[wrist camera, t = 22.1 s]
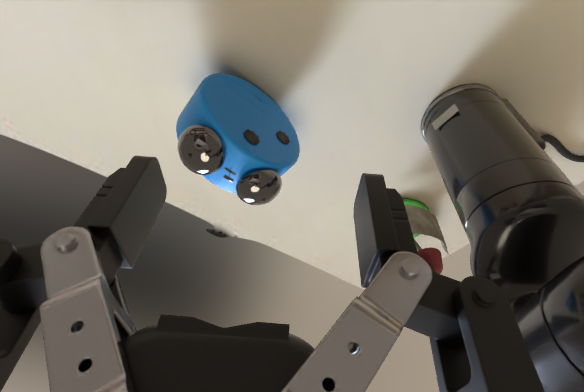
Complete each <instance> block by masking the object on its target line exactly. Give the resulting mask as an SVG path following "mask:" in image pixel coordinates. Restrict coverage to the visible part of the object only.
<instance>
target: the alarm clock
mask: <svg viewBox="0 0 584 392" xmlns="http://www.w3.org/2000/svg"><path fill="white" fill-rule="evenodd" d="M176 130H177V137H178V153H179V157H180V159H181V161H182V163H183V164H184V165H185V166H186V167H187V168H188V169H189V170H190V171H192V172H194V173H196V174H199V175H203V176H204V177H205V178H206V179H207V180H209V181H210V182H212V183H213V184H215V185H216V186H218V187H220V188H222V189H224V190H227V191H229V192H232V193H236V194H237V195H238V197H239V198H240V199H241V200H242V201H244V202H245V203H247V204H250V205H262V204H266V203H268V202H270V201H272V200H273V199H274V198H275V197H276V196H277V195H278V194H279V192H280V190H281V186H282V181H281V177H280V176H281V175H283V174H284V173H285V172H286V171H287V170H288V169H289V168H290V167H292V166H293V165H294V164H295V162H296V161H297V159H298V156H299V141H298V138H297V135H296V132H295V130H294V128H293V126H292V124H291V122H290V121H289V119H288V118H287V116H286V115H285V114H284V112H283V111H282V110H281V109H280V108H279V106H278V105H277V104H276V103H275V102H274V101H273V100H272V99H271V98H270V97H268V96H267V95H266V94H265V93H264V92H262V91H261V90H260V89H258V88H257V87H255V86H254V85H252V84H251V83H249V82H247V81H245V80H243V79H241V78H238V77H236V76H233V75H229V74H221V73H220V74H213V75H210V76H208V77H206V78H205V79H204V80H203V81H202V83H201V84H200V86H199V87H198V89H197V90H196V92H195V93H194V95H193V96H192V98H191V99H190V101H189V102H188V104H187V105H186V106H185V108H184V109H183V111H182V112H181V114H180V116H179V118H178V121H177V126H176Z"/></svg>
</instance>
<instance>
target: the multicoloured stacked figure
mask: <svg viewBox="0 0 584 392" xmlns="http://www.w3.org/2000/svg"><path fill="white" fill-rule="evenodd" d="M403 200H404V204H405V208H406V212H407V215H408V221H409V222H410V226H411V230H412V233H413V237H416V236H418V235H420V234H424V235H429V236H433V237H435V238H437V239H439V240H440V241H441V244H442V246H443V248H444V250H445V251H446V252H447V246H446V244H445V241H444V238H443V235H442V232H441V230H440V227H439V224H438V221H437V219H436V217H435V216H434V215H433V214H431V213H430V212H429V210H428V208H427V207H426V206H425V205H424V204H422V203H420V202H418V201H415V200H411V199H403ZM414 241H415V240H414ZM415 244H416V248H417V250H418V251H417V252H418V255H419V256H420V257H421V258H423V259H424V260H425V261H426V262H427V263H428V265H429V266H430V268H431V270H433V271H434V272H436V273H438V274H440V273H441V272H442V269H443V264H442V257H441V252H440V251H439V250H438V249H436V248H425V249H421V247H420V246H419V245H418V243H417V242H416V241H415ZM447 253H448V252H447Z"/></svg>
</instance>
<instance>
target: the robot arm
mask: <svg viewBox="0 0 584 392" xmlns="http://www.w3.org/2000/svg"><path fill="white" fill-rule="evenodd" d="M421 130H422V134H423V137H424V139H425V141H426V143H427V144H428V146H429V149H430V151H431V154H432V156H433V158H434V161H435V163H436V165H437V167H438V170H439V172H440V174H441V177H442V179H443V181H444V183H445V186H446V188H447V190H448V193H449V195H450V197H451V200H452V202H453V204H454V206H455V209H456V211H457V213H458V215H459V218H460V220H461V222H462V225H463V227H464V229H465V232H466V234H467V237H468V239H469V242H470V244H471V255H470V264H471V270H472V274H473V276H470V277H467V278H465V279H464V280H463V281H462V282H460V281H457V280H454V279H451V278H448V277H446V276H443V275H440V274H438V273H436V272H434V271H433V270H431V268H430V266H429V265H428V263H427V262H426V261H425V260H424V259H423V258H421V257H420V256H419V255H418V252H417V248H416V244H415V241H414V237H413V233H412V230H411V226H410V222H409V221H408V215H407V212H406V208H405V204H404V200H403V198H402V197H401V196H400V194H399V193H398V192H397V191H396V190H395V189H388V188H386V185H385V181H384V177H383V175H378V174H365V173H363V174H362V176H361V180H360V184H359V187H358V191H357V195H356V199H355V203H354V222H355V231H356V240H357V250H358V259H359V268H360V277H361V286H362V287H365V288H366V289H365V290H364V292H363V293H362V294H361V295H360V296H359V297H356V298H355V299H354V300H353V301H352V302H351V303H350V305H349V306H348V307H347V308H346V310H345V311H344V312H343V314H342V315H341V316H340V318H339V319H338V320H337V321H336V323H335V324H334V325H333V326H332V328H331V329H330V330H329V332H328V333H327V334H326V335H325V337H324V338H323V339H322V341H321V342H320V343H319V344H318V346H317V347H316V348H315V349H314V348H313V347H312V346H311V345H310V344H308V343H307V342H305V341H304V340H303V339H301V338H299V337H297V336H295V335H293V334H290V333H289V324H276V323H263V322H256V323H251V324H244V325H239V326H233V327H228V328H222V327H219V326H215V325H213V324H210V323H207V322H205V321H202V320H199V319H197V318H194V317H185V316H173V315H161V316H160V319H159V322H158V324H156V325H152V326H149V327H146V328H143V329H141V330H139V331H137V330H136V328H135V326H134V324H133V322H132V319H131V317H130V314H129V311H128V308H127V305H126V302H125V299H124V295H123V292H122V289H121V286H120V283H119V280H118V278H117V276H116V275H117V273H118V271H119V269H120V268H130V269H132V268H133V266H134V264H135V262H136V260H137V258H138V255H139V254H140V252H141V249H142V247H143V245H144V243H145V241H146V239H147V237H148V235H149V233H150V231H151V229H152V226H153V225H154V223H155V221H156V218H157V216H158V214H159V212H160V210H161V208H162V206H163V204H164V202H165V199H166V193H167V190H166V184H165V181H164V178H163V175H162V171H161V168H160V165H159V162H158V160H157V158H155V157H145V156H134V157H133V158H132V159H131V161H130V162H129V164H128V165H127V167H126V168H120V169H118V170H117V171H116V172H114V173H113V174H111V175H110V176H109V177H108V178H107V180H106V181H105V183H104V184H103V186H102V188H100V190H99V191H98V193H97V194H96V196H95V197H94V198H93V200H92V201H91V202H90V204H89V205H88V206H87V208H86V209H85V211H84V212H83V213H82V215H81V216H80V218H79V219H78V220H77V222H76V223H75V225H74V226H73V227H67V228H64V229H61V230H59V231H57V232H55V233H53V234H52V235H50V236H49V237H48V238H47V239H46V240H45V241H44V243H42V244H37V245H31V246H26V247H20V248H15V247H14V246H13V245H12V244H11V243H10V242H9V241H8V240H5V239H0V392H1V390H2V388H3V387H4V385H5V383H6V381H7V380H8V378H9V376H10V374H11V373H12V371H13V369H14V367H15V366H16V364H17V362H18V360H19V359H20V357H21V355H22V353H23V351H24V350H25V348H26V346H27V345H28V343H29V341H30V339H31V338H32V336H33V334H34V332H35V330H36V329H37V327H38V325H39V323H40V322H41V323H42V332H43V339H44V347H45V354H46V362H47V369H48V377H49V385H50V392H365V391H366V389H367V388H368V386H369V384H370V383H371V381H372V379H373V378H374V376H375V375H376V373H377V371H378V370H379V368H380V366H381V365H382V363H383V361H384V360H385V358H386V356H387V355H388V353H389V351H390V350H391V348H392V346H393V345H394V343H395V342H396V340H397V338H398V337H399V335H400V333H401V331H402V329H403V327H407V328H409V329H412V330H414V331H416V332H419V333H421V334H424V335H426V336H429V337H430V343H431V349H432V354H433V359H434V365H435V370H436V375H437V380H438V386H439V391H440V392H584V197H583V195H582V194H581V193H580V192H579V191H578V190H577V189H576V187H575V186H574V185H573V184H572V183H571V181H570V180H569V179H568V178H567V177H566V176H565V174H564V173H563V172H562V171H561V170H560V169H559V168H558V167H557V165H556V164H555V163H554V162H553V161H552V160H551V158H550V157H549V156H548V155H547V154H546V153H545V151H544V149H545V147H546V144H545V141H547V142H549V143H550V144H552V145H553V146H554V147H555V149H556V150H557V151H558V152H559V153H560V154H561V155H563V156H564V157H566V158H568V159H570V160H572V161H576V162H584V156H578V155H574V154H572V153H570V152H569V151H568V150H567V149H566V148H565V147H564V146H563V145H562V144H561V143H560V142H559V141H558V140H557V139H556V138H554V137H553V136H550V135H543V136H539V135H538V134H537V133H536V132H535V131H534V129H533V128H532V127H531V126H530V125H529V124H528V123H527V122H526V120H525V119H524V118H523V117H522V116H521V115H520V114H519V113H518V111H517V110H516V109H515V108H514V107H513V106H512V105H511V104H510V103H509V101H508V100H507V99H501V98H500V97H499V96H498V95H497V94H496V93H495V92H494V91H493V90H492V89H490V88H488V87H486V86H483V85H477V84H470V85H463V86H459V87H456V88H453V89H451V90H449V91H447V92H445V93H444V94H442V95H441V96H439V97H438V98H437V99H436V100H435V101H434V102H433V103H432V104H431V105H430V106H429V107H428V109H427V110H426V112H425V114H424V116H423V119H422V124H421Z"/></svg>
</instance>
